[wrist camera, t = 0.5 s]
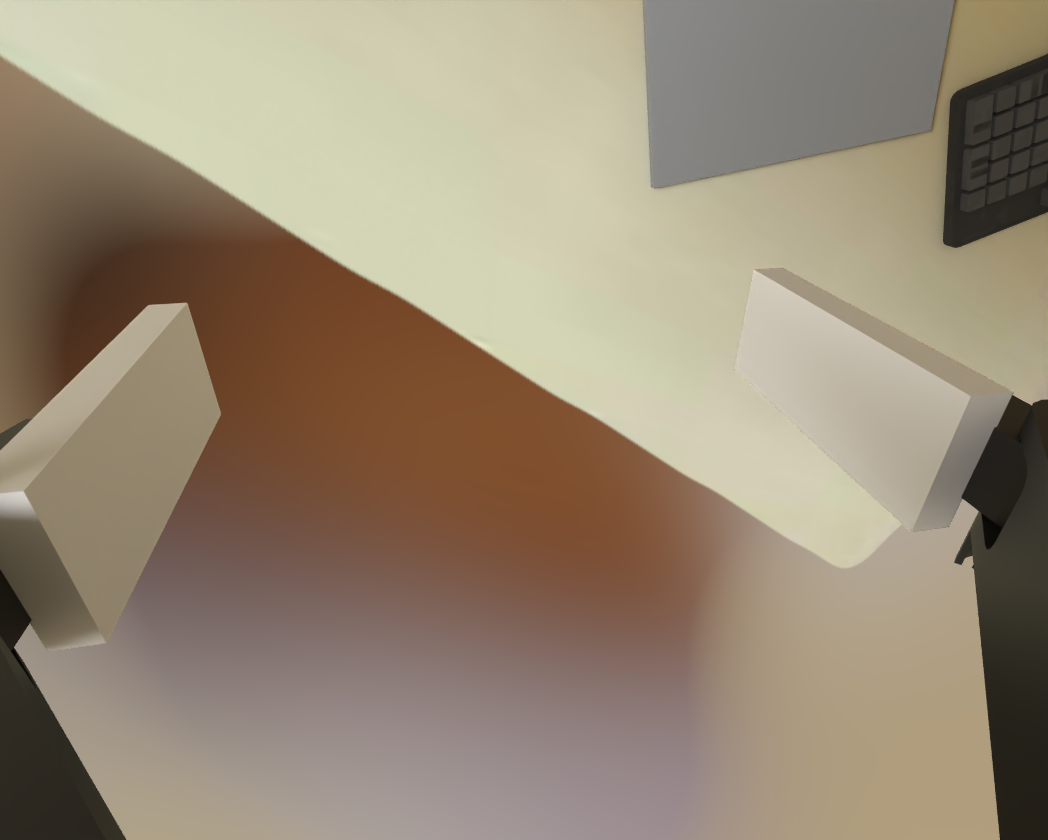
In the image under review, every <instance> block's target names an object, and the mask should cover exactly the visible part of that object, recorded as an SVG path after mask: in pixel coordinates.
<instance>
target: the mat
mask: <svg viewBox="0 0 1048 840" xmlns="http://www.w3.org/2000/svg"><path fill="white" fill-rule="evenodd" d="M954 1H955V0H643V13H644V36H645V59H646V81H647V104H648V127H649V149H650V172H651V187H652V188H654V189H655V188H660V187H665V186H669V185H674V184H679V183H684V182H689V181H693V180H698V179H703V178H708V177H712V176H717V175H722V174H727V173H731V172H736V171H741V170H746V169H750V168H755V167H760V166H765V165H770V164H774V163H779V162H784V161H789V160H793V159H798V158H803V157H808V156H812V155H817V154H822V153H827V152H831V151H836V150H841V149H846V148H851V147H855V146H860V145H865V144H870V143H874V142H879V141H884V140H889V139H893V138H898V137H903V136H908V135H912V134H917V133H922V132H927V131H931V126H932V121H933V115H934V110H935V104H936V99H937V93H938V88H939V83H940V77H941V72H942V66H943V61H944V55H945V50H946V44H947V39H948V34H949V28H950V23H951V17H952V12H953V6H954Z"/></svg>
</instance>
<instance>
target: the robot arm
mask: <svg viewBox="0 0 1048 840" xmlns="http://www.w3.org/2000/svg"><path fill="white" fill-rule="evenodd" d="M734 370H735V371H736V372H737V373H738V374H739V375H740V376H741V377H742V378H743V379H745V380H746V381H747V382H748V383H749V384H750V385H751V386H752V387H753V388H754V389H755V390H757V391H758V392H759V393H760V394H761V395H762V396H763V397H764V398H765V399H766V400H767V401H769V402H770V403H771V404H772V405H773V406H774V407H775V408H776V409H777V410H778V411H779V412H781V413H782V414H783V415H784V416H785V417H786V418H787V419H788V420H789V421H790V422H791V423H793V424H794V425H795V426H796V427H797V428H798V429H799V430H800V431H801V432H802V433H803V434H805V435H806V436H807V437H808V438H809V439H810V440H811V441H812V442H813V443H814V444H815V445H817V446H818V447H819V448H820V449H821V450H822V451H823V452H824V453H825V454H826V455H827V456H829V457H830V458H831V459H832V460H833V461H834V462H835V463H836V464H837V465H838V466H839V467H841V468H842V469H843V470H844V471H845V472H846V473H847V474H848V475H849V476H850V477H851V478H853V479H854V480H855V481H856V482H857V483H858V484H859V485H860V486H861V487H862V488H863V489H865V490H866V491H867V492H868V493H869V494H870V495H871V496H872V497H873V498H874V499H875V500H877V501H878V502H879V503H880V504H881V505H882V506H883V507H884V508H885V509H886V510H888V511H889V512H890V513H891V514H892V515H893V516H894V517H895V518H896V519H897V520H898V521H900V522H901V523H902V524H903V525H904V526H905V527H906V528H907V529H908V530H909V531H911V532H916V531H924V530H931V529H939V528H946V527H949V526H950V524H951V522H952V519H953V518H954V515H955V513H956V511H957V509H958V507H959V505H960V503H961V501H962V499H964V500H965V501H967V502H968V503H969V504H971V505H972V506H973V507H974V508H976V509H977V510H978V511H979V512H978V514H977V516H976V518H975V520H974V522H973V524H972V526H971V528H970V530H969V532H968V534H967V536H966V538H965V540H964V542H963V544H962V546H961V548H960V550H959V552H958V554H957V556H956V559H955V562H954V563H957V564H960V565H962V563H963V561H964V559H965V558H966V557H969V556H973V563H974V565H973V566H972V568H973V569H974V574H975V584H976V594H977V605H978V615H979V626H980V636H981V647H982V656H983V667H984V676H985V677H984V678H985V688H986V699H987V709H988V720H989V730H990V741H991V750H992V761H993V771H994V782H995V792H996V802H997V814H998V824H999V834H1000V840H1048V400H1040V401H1038V402H1035V403H1033V405H1032V406H1031V405H1030V404H1028V403H1026V402H1024V401H1022V400H1020V399H1019V398H1017V397H1015V396H1013V395H1012V394H1013V391H1011V390H1009V389H1007V388H1005V387H1003V386H1001V385H1000V384H998V383H996V382H994V381H992V380H990V379H988V378H987V377H985V376H983V375H981V374H979V373H977V372H975V371H974V370H972V369H970V368H968V367H966V366H964V365H962V364H960V363H959V362H957V361H955V360H953V359H951V358H949V357H947V356H946V355H944V354H942V353H940V352H938V351H936V350H934V349H933V348H931V347H929V346H927V345H925V344H923V343H921V342H919V341H918V340H916V339H914V338H912V337H910V336H908V335H906V334H905V333H903V332H901V331H899V330H897V329H895V328H893V327H892V326H890V325H888V324H886V323H884V322H882V321H880V320H878V319H877V318H875V317H873V316H871V315H869V314H867V313H865V312H864V311H862V310H860V309H858V308H856V307H854V306H852V305H851V304H849V303H847V302H845V301H843V300H841V299H839V298H837V297H836V296H834V295H832V294H830V293H828V292H826V291H824V290H823V289H821V288H819V287H817V286H815V285H813V284H811V283H810V282H808V281H806V280H804V279H802V278H800V277H798V276H796V275H795V274H793V273H791V272H789V271H787V270H785V269H783V268H771V269H754V271H753V276H752V281H751V286H750V291H749V296H748V301H747V306H746V311H745V316H744V321H743V326H742V331H741V336H740V341H739V346H738V351H737V356H736V361H735V366H734ZM220 415H221V412H220V409H219V406H218V403H217V400H216V396H215V393H214V389H213V386H212V383H211V380H210V377H209V373H208V370H207V366H206V363H205V360H204V357H203V353H202V350H201V347H200V343H199V340H198V337H197V334H196V331H195V327H194V324H193V320H192V317H191V314H190V311H189V307H188V305H187V303H177V304H161V305H149V306H147V307H146V308H145V309H144V310H143V311H142V312H141V313H140V314H139V315H138V316H137V317H136V318H135V319H134V320H133V321H132V322H131V323H130V324H129V325H128V326H127V327H126V328H125V329H124V330H123V331H122V332H121V333H120V334H119V335H118V336H117V337H116V338H115V339H114V340H113V341H112V342H111V343H109V345H107V346H106V347H105V348H104V349H103V350H102V351H101V352H100V353H99V354H98V355H97V356H96V357H95V358H94V359H93V360H92V361H91V362H90V363H89V364H88V365H87V366H86V367H85V368H84V369H83V370H82V371H81V372H80V373H79V374H78V375H77V376H76V377H75V378H74V379H73V380H72V381H71V382H70V383H69V384H68V385H67V386H66V387H65V388H64V389H63V390H62V391H61V392H60V393H59V394H58V395H56V396H55V397H54V399H52V400H51V401H50V403H48V404H47V405H46V406H45V407H44V408H43V409H42V410H41V411H40V412H39V413H38V414H37V415H36V416H35V417H34V418H33V419H26V420H24V421H22V422H20V423H18V424H17V425H15V426H13V427H11V428H10V429H8V430H6V431H4V432H3V433H1V434H0V840H126V838H125V836H124V835H123V833H122V831H121V830H120V828H119V826H118V825H117V823H116V821H115V819H114V817H113V816H112V814H111V812H110V810H109V809H108V807H107V805H106V804H105V802H104V800H103V798H102V797H101V795H100V793H99V791H98V790H97V788H96V786H95V784H94V783H93V781H92V779H91V778H90V776H89V774H88V772H87V771H86V769H85V767H84V766H83V764H82V762H81V760H80V759H79V757H78V755H77V753H76V752H75V750H74V748H73V747H72V745H71V743H70V741H69V739H68V738H67V736H66V734H65V733H64V731H63V729H62V727H61V726H60V724H59V722H58V721H57V719H56V717H55V715H54V713H53V712H52V710H51V708H50V707H49V705H48V703H47V701H46V700H45V698H44V696H43V694H42V693H41V691H40V689H39V688H38V686H37V684H36V682H35V681H34V679H33V677H32V676H31V674H30V672H29V670H28V669H27V667H26V665H25V663H24V662H23V661H22V659H21V657H20V656H19V654H18V653H17V651H16V650H15V648H14V646H15V645H16V643H17V642H18V640H19V639H20V637H21V636H22V634H23V632H24V631H25V630H26V628H27V626H28V625H29V623H30V624H31V626H32V627H33V629H34V630H35V632H36V633H37V635H38V637H39V638H40V640H41V641H42V643H43V645H44V646H45V648H46V649H47V651H53V650H60V649H68V648H75V647H82V646H90V645H97V644H103V643H107V641H108V639H109V637H110V635H111V633H112V631H113V629H114V627H115V625H116V623H117V621H118V619H119V617H120V615H121V613H122V611H123V609H124V607H125V604H126V603H127V601H128V599H129V597H130V595H131V593H132V591H133V589H134V587H135V585H136V583H137V581H138V579H139V577H140V575H141V573H142V571H143V569H144V567H145V565H146V563H147V561H148V559H149V557H150V555H151V553H152V551H153V549H154V547H155V545H156V543H157V541H158V539H159V537H160V535H161V533H162V531H163V529H164V527H165V525H166V523H167V521H168V519H169V517H170V515H171V513H172V511H173V509H174V507H175V505H176V503H177V501H178V499H179V497H180V495H181V493H182V491H183V489H184V487H185V485H186V482H187V481H188V479H189V477H190V475H191V473H192V471H193V469H194V467H195V465H196V463H197V461H198V459H199V457H200V455H201V453H202V451H203V449H204V447H205V445H206V443H207V441H208V439H209V437H210V435H211V432H212V431H213V429H214V427H215V425H216V423H217V421H218V419H219V417H220Z"/></svg>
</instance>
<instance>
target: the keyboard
mask: <svg viewBox="0 0 1048 840" xmlns="http://www.w3.org/2000/svg"><path fill="white" fill-rule="evenodd" d="M1046 212H1048V54H1047V55H1044V56H1042V57H1039V58H1037V59H1034V60H1032V61H1030V62H1027V63H1025V64H1022V65H1020V66H1017V67H1015V68H1012V69H1010V70H1007V71H1005V72H1002V73H1000V74H997V75H995V76H992V77H990V78H987V79H985V80H982V81H980V82H977V83H975V84H972V85H970V86H967V87H965V88H963V89H960V90H959V91H957V92H956V93H955V94H954V95H953V96H952V98H951V102H950V115H949V135H948V154H947V174H946V193H945V212H944V232H943V242H944V244H945V245H948V246H951V247H954V248H957V247H961V246H963V245H966V244H968V243H971V242H973V241H976V240H978V239H981V238H983V237H986V236H988V235H991V234H993V233H996V232H998V231H1001V230H1004V229H1006V228H1009V227H1011V226H1014V225H1016V224H1019V223H1021V222H1024V221H1026V220H1029V219H1031V218H1034V217H1036V216H1039V215H1041V214H1044V213H1046Z"/></svg>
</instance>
